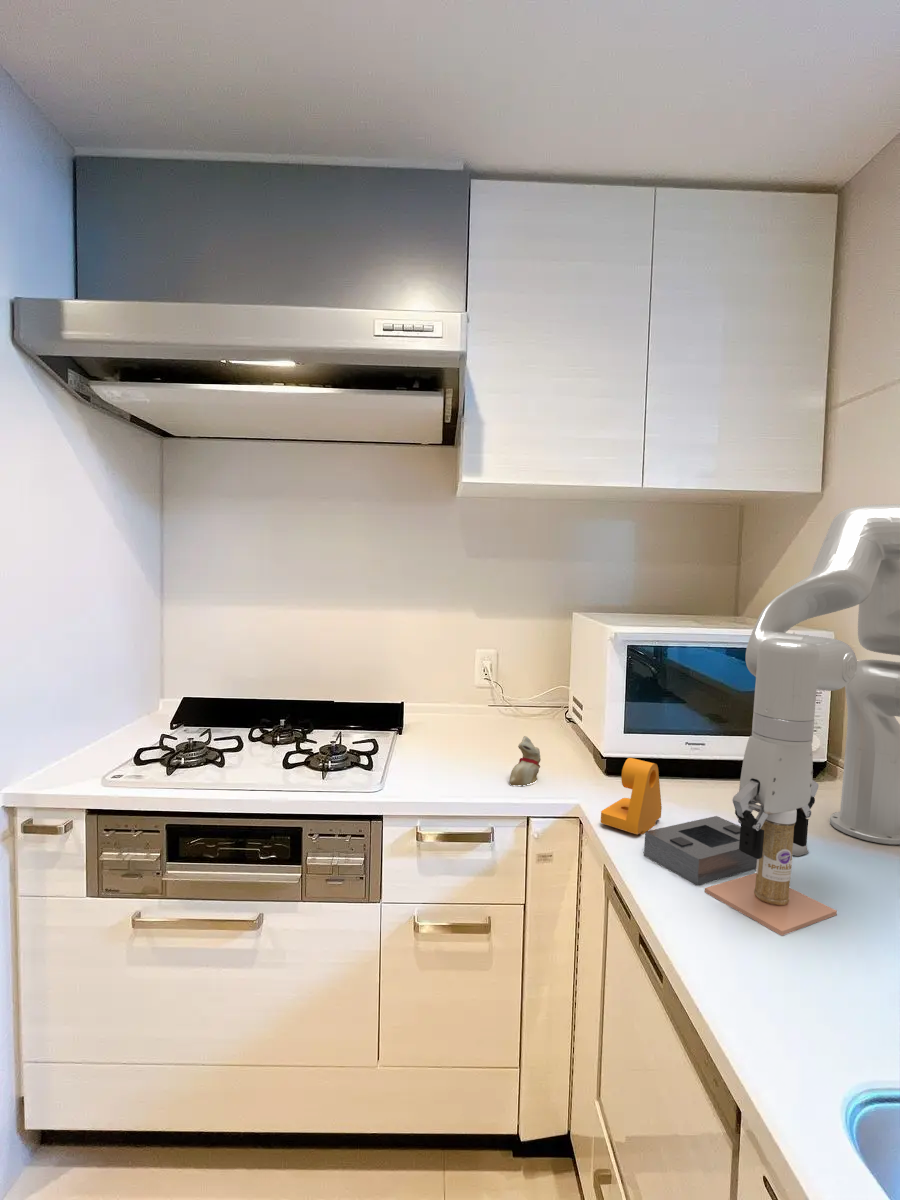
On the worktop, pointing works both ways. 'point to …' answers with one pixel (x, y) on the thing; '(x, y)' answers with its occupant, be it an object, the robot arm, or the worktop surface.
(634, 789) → the bracket
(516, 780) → the chocolate bunny
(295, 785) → the worktop surface
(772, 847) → the sprinkles bottle
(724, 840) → the socket bar
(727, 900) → the coaster
